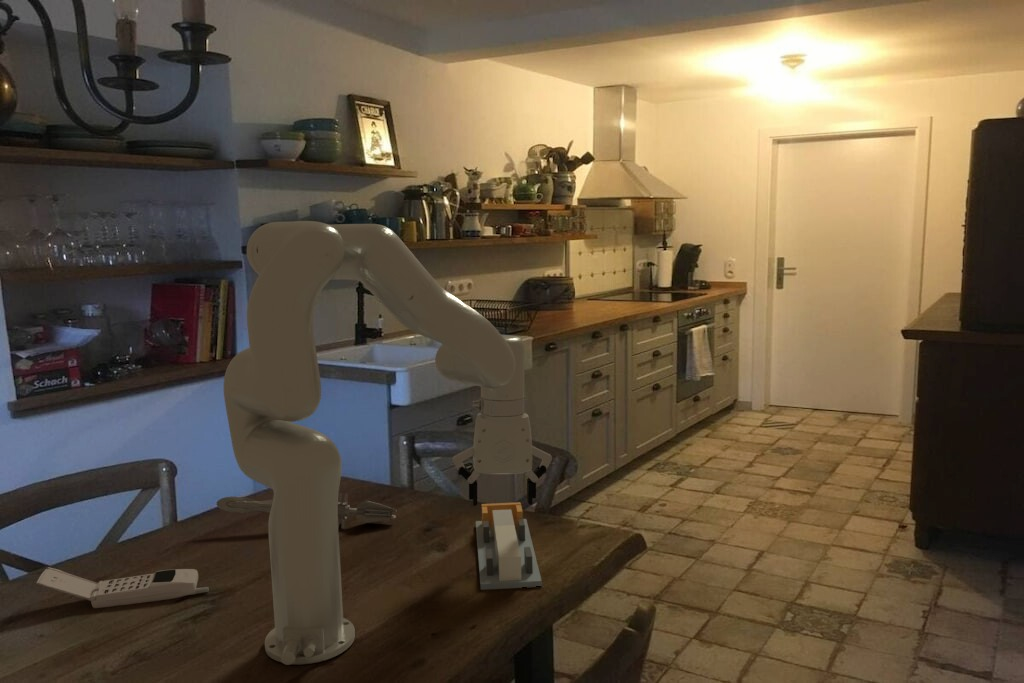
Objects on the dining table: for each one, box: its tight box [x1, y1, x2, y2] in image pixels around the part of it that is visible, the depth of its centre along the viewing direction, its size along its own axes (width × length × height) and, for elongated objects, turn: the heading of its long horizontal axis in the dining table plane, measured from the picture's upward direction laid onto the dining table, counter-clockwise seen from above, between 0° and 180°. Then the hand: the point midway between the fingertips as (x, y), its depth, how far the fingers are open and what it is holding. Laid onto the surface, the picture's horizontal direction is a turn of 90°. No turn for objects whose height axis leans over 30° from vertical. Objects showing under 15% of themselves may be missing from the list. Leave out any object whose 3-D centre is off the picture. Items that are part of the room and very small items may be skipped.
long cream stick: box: [492, 509, 521, 581], centre depth 144 cm, size 22×4×4 cm, turn 4°
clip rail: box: [475, 501, 543, 591], centre depth 146 cm, size 28×10×5 cm, turn 4°
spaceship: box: [216, 492, 397, 529], centre depth 161 cm, size 8×35×8 cm
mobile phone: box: [35, 566, 209, 609], centre depth 132 cm, size 6×6×25 cm
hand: (502, 502), depth 143 cm, fingers open, 9 cm apart
